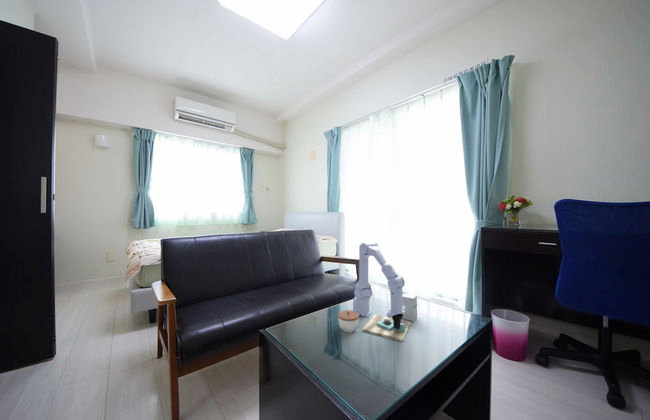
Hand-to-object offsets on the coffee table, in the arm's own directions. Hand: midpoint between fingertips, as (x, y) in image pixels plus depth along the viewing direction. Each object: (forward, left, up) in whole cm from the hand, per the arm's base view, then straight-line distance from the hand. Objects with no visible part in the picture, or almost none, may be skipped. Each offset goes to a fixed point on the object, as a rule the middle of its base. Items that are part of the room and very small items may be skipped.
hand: (397, 328), depth 112 cm
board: (-6, +3, -2) cm, 7 cm away
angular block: (-3, +3, -1) cm, 4 cm away
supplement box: (+2, +21, -3) cm, 22 cm away
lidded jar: (-23, -9, -3) cm, 24 cm away
